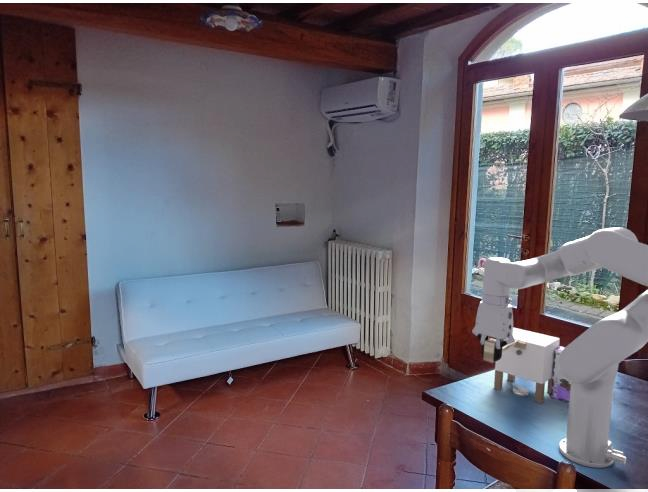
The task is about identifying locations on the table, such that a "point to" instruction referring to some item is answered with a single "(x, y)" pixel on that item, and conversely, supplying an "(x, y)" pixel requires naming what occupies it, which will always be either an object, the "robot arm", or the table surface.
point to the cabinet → (529, 361)
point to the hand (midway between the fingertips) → (491, 357)
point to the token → (520, 391)
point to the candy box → (560, 380)
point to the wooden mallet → (491, 345)
